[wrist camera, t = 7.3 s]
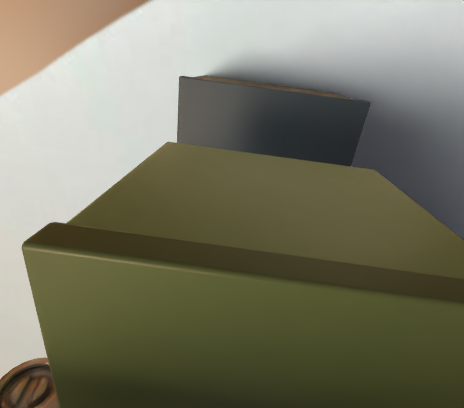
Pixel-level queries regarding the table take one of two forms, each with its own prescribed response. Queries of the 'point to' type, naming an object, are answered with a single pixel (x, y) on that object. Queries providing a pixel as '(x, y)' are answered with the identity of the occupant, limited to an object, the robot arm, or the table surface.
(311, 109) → the storage box
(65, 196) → the table surface
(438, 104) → the table surface
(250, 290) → the olive green rectangular box
